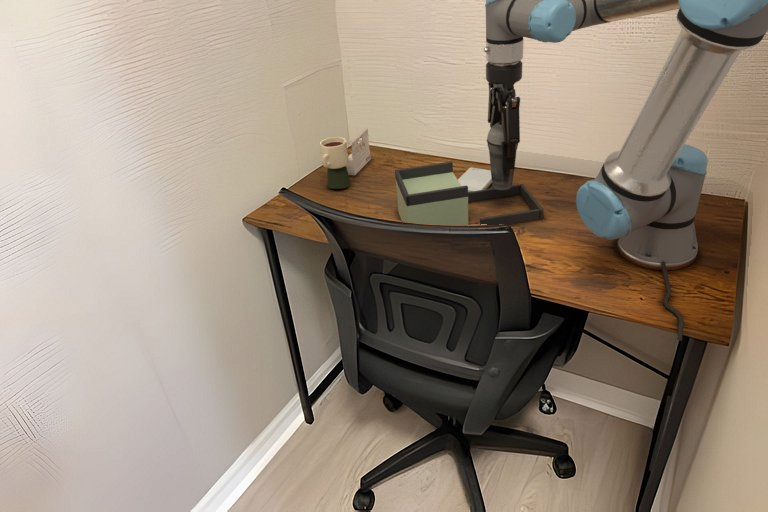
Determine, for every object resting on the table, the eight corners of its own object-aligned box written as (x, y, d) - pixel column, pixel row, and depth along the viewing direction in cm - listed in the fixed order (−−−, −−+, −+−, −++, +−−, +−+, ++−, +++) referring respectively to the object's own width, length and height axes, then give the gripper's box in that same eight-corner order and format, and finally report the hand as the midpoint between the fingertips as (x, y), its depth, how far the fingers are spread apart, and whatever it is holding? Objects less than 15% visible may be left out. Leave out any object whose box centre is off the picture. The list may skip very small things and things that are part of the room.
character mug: (338, 176, 167) (332, 132, 160) (360, 179, 164) (354, 135, 157) (317, 193, 159) (310, 148, 152) (340, 197, 156) (333, 151, 149)
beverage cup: (486, 193, 137) (487, 109, 126) (486, 179, 143) (486, 98, 132) (519, 192, 136) (522, 108, 125) (516, 178, 142) (519, 96, 131)
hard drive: (469, 166, 161) (450, 186, 152) (498, 171, 157) (479, 191, 149) (469, 172, 162) (450, 192, 153) (498, 177, 158) (479, 197, 150)
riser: (543, 219, 138) (546, 174, 132) (409, 240, 136) (405, 196, 129) (522, 192, 150) (524, 150, 144) (398, 211, 147) (394, 169, 141)
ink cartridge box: (347, 175, 167) (343, 143, 162) (364, 159, 175) (360, 127, 170) (355, 176, 166) (351, 143, 161) (371, 159, 174) (368, 128, 169)
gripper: (473, 52, 132) (474, 148, 144) (502, 77, 115) (501, 183, 127) (505, 47, 132) (503, 143, 145) (539, 71, 115) (534, 177, 128)
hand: (502, 161), depth 136 cm, fingers closed on beverage cup, 7 cm apart
